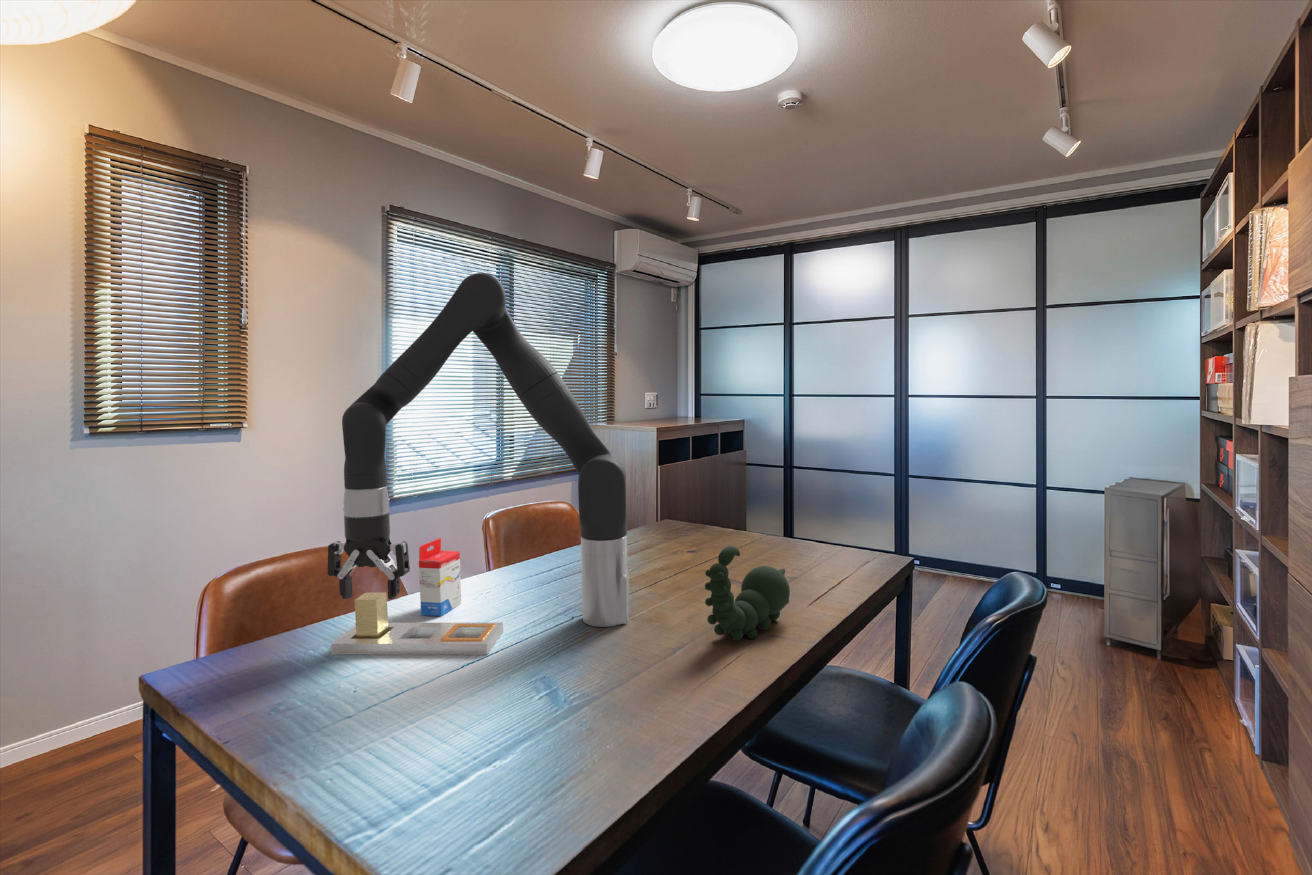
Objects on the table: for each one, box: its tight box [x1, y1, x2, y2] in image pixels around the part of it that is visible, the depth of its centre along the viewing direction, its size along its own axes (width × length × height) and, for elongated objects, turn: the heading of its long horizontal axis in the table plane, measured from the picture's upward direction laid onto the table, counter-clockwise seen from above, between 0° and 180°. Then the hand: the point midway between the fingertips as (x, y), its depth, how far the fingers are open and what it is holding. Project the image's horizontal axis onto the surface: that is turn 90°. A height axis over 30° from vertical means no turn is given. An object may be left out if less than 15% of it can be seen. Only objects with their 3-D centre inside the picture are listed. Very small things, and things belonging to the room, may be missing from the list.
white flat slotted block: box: [330, 622, 504, 656], centre depth 114 cm, size 28×10×2 cm, turn 88°
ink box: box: [418, 537, 462, 617], centre depth 131 cm, size 8×5×15 cm, turn 168°
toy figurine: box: [704, 545, 791, 641], centre depth 118 cm, size 9×19×25 cm
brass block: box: [354, 592, 389, 639], centre depth 114 cm, size 4×4×9 cm
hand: (370, 597), depth 114 cm, fingers open, 8 cm apart
